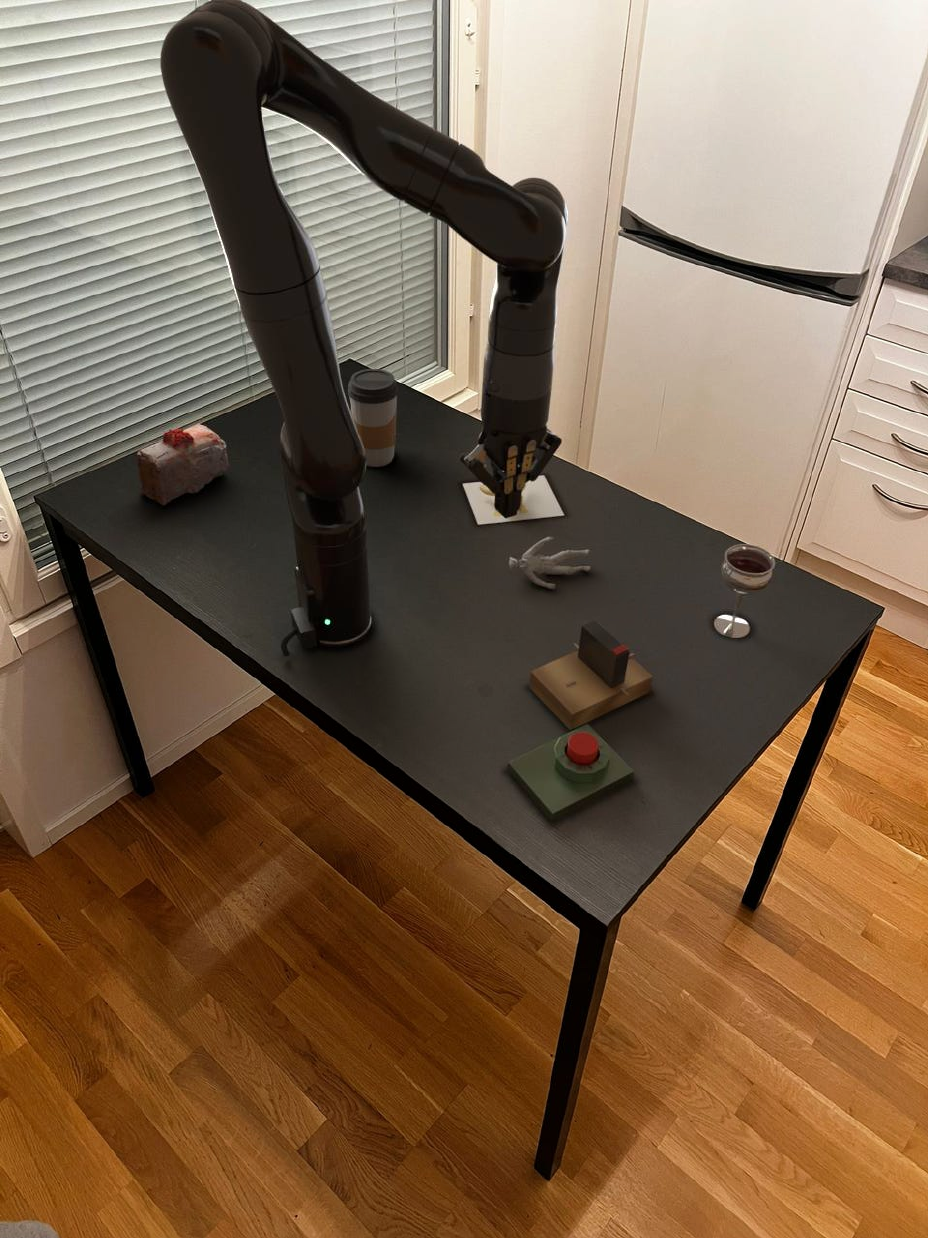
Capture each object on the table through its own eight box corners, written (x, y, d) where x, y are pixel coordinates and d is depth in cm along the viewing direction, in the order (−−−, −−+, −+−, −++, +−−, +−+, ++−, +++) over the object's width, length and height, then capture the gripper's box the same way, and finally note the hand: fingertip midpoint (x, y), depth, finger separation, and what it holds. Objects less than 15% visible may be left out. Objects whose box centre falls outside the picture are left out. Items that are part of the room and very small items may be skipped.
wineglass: (698, 617, 140) (714, 550, 132) (737, 605, 142) (755, 539, 134) (725, 647, 135) (743, 579, 127) (766, 634, 137) (786, 567, 130)
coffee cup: (398, 471, 167) (396, 391, 157) (349, 470, 167) (344, 390, 157) (401, 445, 173) (399, 367, 164) (354, 444, 173) (349, 366, 164)
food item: (204, 459, 169) (195, 408, 162) (234, 476, 165) (226, 424, 158) (138, 493, 161) (126, 440, 154) (169, 511, 157) (158, 458, 150)
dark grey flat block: (577, 656, 129) (581, 624, 125) (590, 650, 130) (595, 618, 126) (611, 688, 124) (616, 655, 121) (624, 682, 125) (630, 649, 122)
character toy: (524, 467, 162) (537, 493, 156) (523, 483, 164) (536, 510, 158) (477, 472, 161) (488, 498, 155) (477, 488, 163) (487, 515, 157)
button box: (551, 823, 112) (553, 803, 110) (507, 771, 118) (508, 751, 116) (632, 780, 117) (636, 761, 115) (586, 732, 123) (589, 713, 120)
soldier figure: (592, 589, 146) (524, 586, 140) (573, 593, 150) (506, 591, 144) (590, 538, 147) (522, 533, 141) (571, 543, 151) (504, 539, 145)
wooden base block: (575, 736, 122) (577, 719, 120) (524, 682, 129) (525, 665, 127) (658, 696, 128) (662, 679, 126) (604, 646, 135) (607, 629, 133)
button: (579, 769, 114) (580, 759, 113) (560, 749, 116) (562, 739, 115) (603, 757, 116) (605, 747, 114) (584, 737, 118) (586, 727, 117)
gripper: (547, 354, 111) (533, 484, 122) (447, 379, 105) (442, 513, 116) (587, 382, 106) (569, 514, 117) (484, 409, 100) (476, 546, 112)
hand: (506, 513), depth 117 cm, fingers closed
